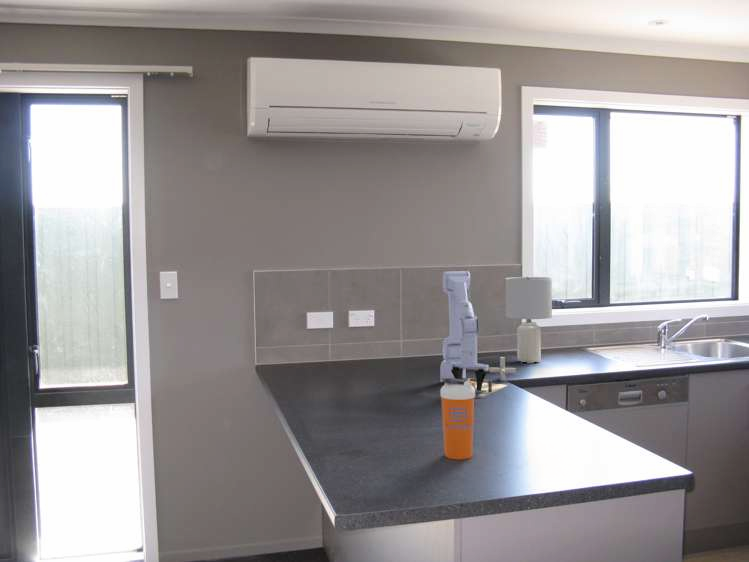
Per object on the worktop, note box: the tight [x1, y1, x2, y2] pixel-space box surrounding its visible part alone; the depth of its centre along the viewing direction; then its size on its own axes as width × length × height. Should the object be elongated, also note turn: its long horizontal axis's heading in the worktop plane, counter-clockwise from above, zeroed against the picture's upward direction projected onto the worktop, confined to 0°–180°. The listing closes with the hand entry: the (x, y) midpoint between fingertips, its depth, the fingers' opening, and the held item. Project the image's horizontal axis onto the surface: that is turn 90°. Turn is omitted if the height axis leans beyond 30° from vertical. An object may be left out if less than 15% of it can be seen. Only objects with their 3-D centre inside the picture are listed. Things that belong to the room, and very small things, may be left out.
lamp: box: [505, 276, 553, 364], centre depth 319 cm, size 20×20×39 cm
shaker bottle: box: [439, 377, 476, 461], centre depth 181 cm, size 9×9×20 cm
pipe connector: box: [489, 356, 517, 381], centre depth 273 cm, size 10×10×10 cm
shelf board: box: [462, 377, 509, 401], centre depth 258 cm, size 14×22×5 cm, turn 146°
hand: (469, 389), depth 252 cm, fingers open, 7 cm apart
